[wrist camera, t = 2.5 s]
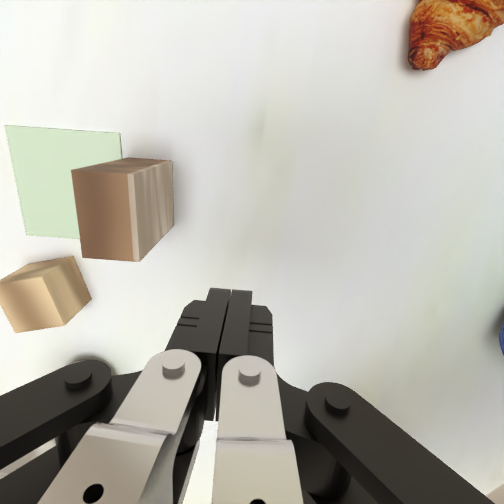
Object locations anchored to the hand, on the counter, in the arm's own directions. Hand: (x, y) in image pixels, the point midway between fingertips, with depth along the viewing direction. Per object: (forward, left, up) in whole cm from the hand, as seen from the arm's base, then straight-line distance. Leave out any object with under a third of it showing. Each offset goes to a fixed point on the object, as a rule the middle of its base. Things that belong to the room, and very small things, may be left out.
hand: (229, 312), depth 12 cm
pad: (+17, 0, -19) cm, 26 cm away
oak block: (+19, +10, -20) cm, 29 cm away
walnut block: (+9, 0, -19) cm, 22 cm away
